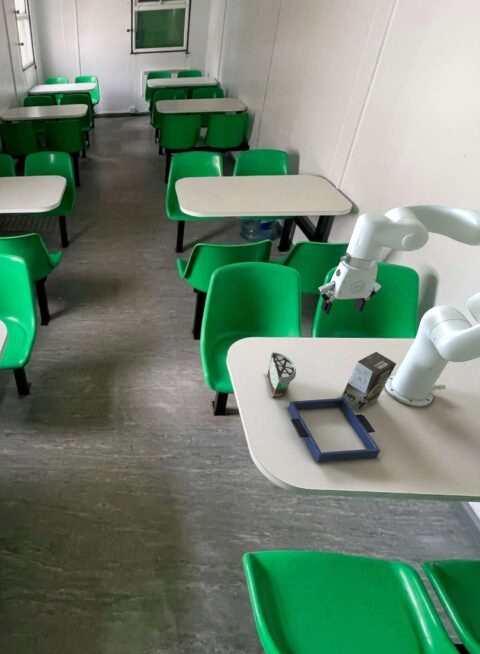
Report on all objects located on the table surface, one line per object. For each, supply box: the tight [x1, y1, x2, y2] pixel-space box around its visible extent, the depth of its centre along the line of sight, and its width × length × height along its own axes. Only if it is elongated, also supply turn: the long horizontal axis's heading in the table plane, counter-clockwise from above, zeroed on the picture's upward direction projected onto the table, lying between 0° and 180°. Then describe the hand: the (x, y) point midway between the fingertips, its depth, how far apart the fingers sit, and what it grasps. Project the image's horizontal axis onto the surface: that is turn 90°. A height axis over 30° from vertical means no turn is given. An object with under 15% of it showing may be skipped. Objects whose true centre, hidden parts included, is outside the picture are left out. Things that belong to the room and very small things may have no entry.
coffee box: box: [340, 351, 397, 412], centre depth 127 cm, size 9×6×16 cm
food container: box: [266, 352, 297, 399], centre depth 134 cm, size 12×6×10 cm, turn 172°
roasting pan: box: [287, 397, 382, 463], centre depth 121 cm, size 21×19×4 cm
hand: (341, 310), depth 123 cm, fingers open, 9 cm apart
